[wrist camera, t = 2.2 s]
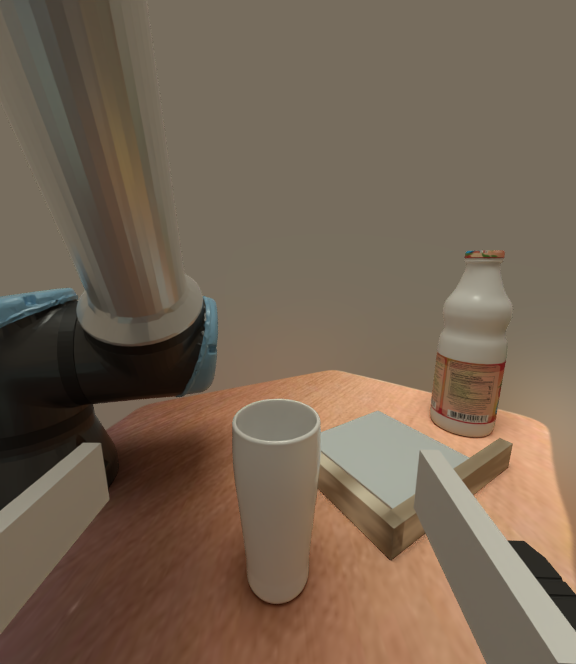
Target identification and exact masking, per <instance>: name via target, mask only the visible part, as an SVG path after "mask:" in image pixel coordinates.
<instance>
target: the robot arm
mask: <svg viewBox="0 0 576 664" xmlns="http://www.w3.org/2000/svg"><path fill="white" fill-rule="evenodd" d="M0 104H1V106H2V108H3V110H4V112H5V114H6V117H7V119H8V121H9V123H10V126H11V128H12V130H13V132H14V134H15V136H16V139H17V141H18V143H19V145H20V147H21V150H22V152H23V154H24V156H25V159H26V161H27V163H28V165H29V167H30V169H31V171H32V174H33V176H34V178H35V180H36V183H37V185H38V187H39V189H40V191H41V194H42V196H43V198H44V200H45V202H46V204H47V207H48V209H49V211H50V213H51V215H52V218H53V220H54V222H55V224H56V227H57V229H58V231H59V233H60V235H61V238H62V240H63V242H64V244H65V246H66V248H67V251H68V253H69V255H70V257H71V259H72V262H73V264H74V266H75V268H76V271H77V273H78V275H79V277H80V279H81V282H82V283H83V286H84V288H85V291H84V292H83V294H82V295H81V296H80V298H79V301H77V300H78V295H76V293H75V292H74V290H73V289H71V288H65V289H64V288H62V289H52V290H45V291H38V292H30V293H23V294H16V295H9V296H2V297H0V634H1V633H2V632H3V630H4V629H5V628H6V627H7V625H8V624H9V623H10V622H11V621H12V619H13V618H14V617H15V616H16V614H17V613H18V612H19V611H20V609H21V608H22V607H23V606H24V604H25V603H26V602H27V601H28V600H29V598H30V597H31V596H32V595H33V593H34V592H35V591H36V590H37V588H38V587H39V586H40V585H41V583H42V582H43V581H44V580H45V579H46V577H47V576H48V575H49V574H50V572H51V571H52V570H53V569H54V567H55V566H56V565H57V564H58V563H59V561H60V560H61V559H62V558H63V556H64V555H65V554H66V553H67V551H68V550H69V549H70V548H71V546H72V545H73V544H74V543H75V542H76V540H77V539H78V538H79V537H80V535H81V534H82V533H83V532H84V530H85V529H86V528H87V527H88V525H89V524H90V523H91V522H92V521H93V519H94V518H95V517H96V516H97V514H98V513H99V512H100V511H101V509H102V508H103V507H104V506H105V504H106V503H107V502H108V501H109V500H110V499H109V492H108V487H109V486H110V484H111V483H112V482H113V480H114V478H115V477H116V475H117V472H118V468H119V463H118V456H117V450H116V447H115V445H114V443H113V441H112V440H111V438H110V437H109V435H108V434H107V432H106V430H105V429H104V427H103V426H102V424H101V423H100V421H99V419H98V418H97V416H96V415H95V412H94V407H93V404H98V403H108V402H118V401H128V400H137V399H149V398H161V397H173V396H175V397H182V396H184V395H186V394H193V393H200V392H203V391H205V390H207V389H208V388H209V387H210V386H211V384H212V382H213V379H214V375H215V369H216V359H217V349H216V347H217V338H218V317H217V307H216V303H215V301H214V300H213V299H211V298H207V297H205V296H202V292H201V289H200V287H199V285H198V284H197V283H196V282H195V281H194V280H193V279H192V278H191V277H190V276H188V275H186V274H185V273H184V266H183V259H182V251H181V244H180V238H179V230H178V222H177V215H176V208H175V201H174V194H173V186H172V179H171V172H170V165H169V158H168V150H167V142H166V135H165V128H164V121H163V113H162V106H161V99H160V92H159V84H158V77H157V70H156V62H155V55H154V48H153V41H152V33H151V26H150V20H149V12H148V4H147V0H0ZM414 510H415V512H416V514H417V516H418V518H419V520H420V523H421V525H422V527H423V529H424V531H425V533H426V535H427V537H428V540H429V542H430V544H431V546H432V548H433V550H434V552H435V555H436V557H437V559H438V561H439V563H440V565H441V567H442V569H443V572H444V574H445V576H446V578H447V580H448V582H449V584H450V587H451V589H452V591H453V593H454V595H455V597H456V599H457V601H458V604H459V606H460V608H461V610H462V612H463V614H464V616H465V619H466V621H467V623H468V625H469V627H470V629H471V631H472V633H473V636H474V638H475V640H476V642H477V644H478V646H479V648H480V651H481V653H482V655H483V657H484V659H485V661H486V663H487V664H576V594H575V593H574V592H573V591H572V589H571V588H570V587H569V586H568V585H567V583H566V582H563V580H562V577H561V576H560V575H559V574H558V573H557V571H556V570H555V569H554V568H553V567H552V566H551V564H550V563H549V562H548V561H547V560H546V558H545V557H543V556H542V555H541V554H540V553H538V552H537V551H536V550H535V549H533V548H532V547H531V546H530V545H528V544H527V543H526V542H525V541H507V540H506V538H505V537H504V536H503V534H502V533H501V532H500V530H499V529H498V528H497V526H496V525H495V524H494V522H493V521H492V520H491V518H490V517H489V516H488V514H487V513H486V512H485V510H484V509H483V508H482V506H481V505H480V504H479V502H478V501H477V500H476V498H475V497H474V496H473V494H472V493H471V492H470V490H469V489H468V488H467V486H466V485H465V484H464V482H463V481H462V480H461V478H460V477H459V476H458V474H457V473H456V472H455V470H454V469H453V468H452V466H451V465H450V464H449V462H448V461H447V460H446V458H445V457H444V456H443V455H442V453H441V452H440V451H439V450H420V452H419V461H418V471H417V480H416V490H415V499H414Z"/></svg>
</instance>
